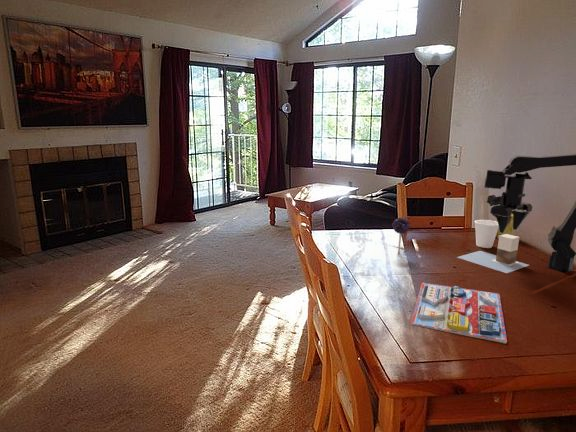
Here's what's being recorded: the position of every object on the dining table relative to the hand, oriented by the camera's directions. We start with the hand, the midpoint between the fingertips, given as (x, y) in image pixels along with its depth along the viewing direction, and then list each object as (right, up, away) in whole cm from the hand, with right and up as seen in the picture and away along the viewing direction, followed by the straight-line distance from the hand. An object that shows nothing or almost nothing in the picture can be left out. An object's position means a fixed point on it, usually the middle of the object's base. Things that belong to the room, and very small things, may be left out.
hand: (508, 231), depth 156 cm
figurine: (+18, -4, +38) cm, 42 cm away
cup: (+1, -8, +22) cm, 24 cm away
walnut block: (0, -12, +2) cm, 12 cm away
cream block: (0, -7, +1) cm, 7 cm away
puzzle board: (-34, -22, -37) cm, 55 cm away
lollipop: (-38, -10, +11) cm, 41 cm away
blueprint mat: (-5, -12, +3) cm, 13 cm away
